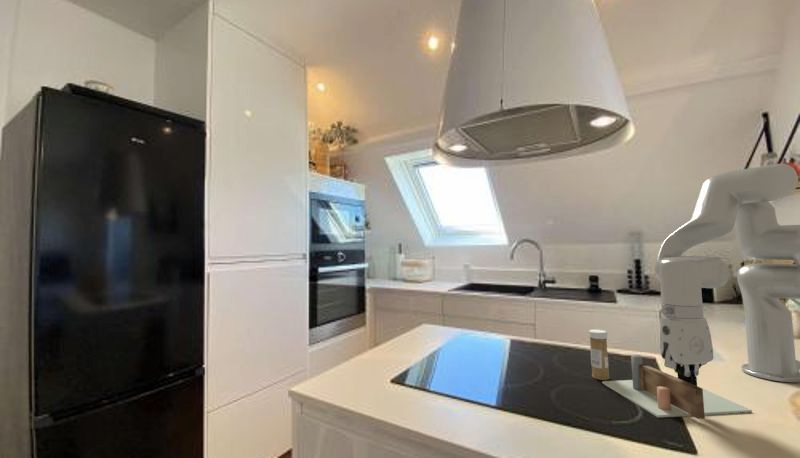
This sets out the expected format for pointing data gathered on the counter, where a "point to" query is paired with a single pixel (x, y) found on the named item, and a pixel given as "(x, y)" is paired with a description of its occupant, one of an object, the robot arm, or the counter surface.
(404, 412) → the counter surface
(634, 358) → the gate frame
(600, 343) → the sprinkles bottle
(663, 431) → the counter surface
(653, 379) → the gate
